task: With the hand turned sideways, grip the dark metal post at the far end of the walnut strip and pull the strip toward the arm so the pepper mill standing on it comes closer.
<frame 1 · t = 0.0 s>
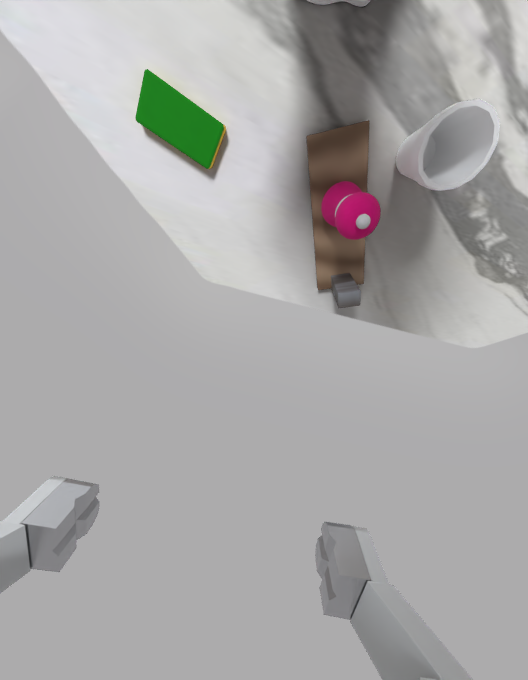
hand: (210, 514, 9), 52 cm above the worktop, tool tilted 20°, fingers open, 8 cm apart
pepper mill: (337, 201, 47), resting on strip
foam cup: (414, 154, 43), on the worktop
strip: (343, 223, 44), point 6 cm above the worktop, slide at -0.2 cm, touching pepper mill
dish sponge: (184, 125, 44), on the worktop
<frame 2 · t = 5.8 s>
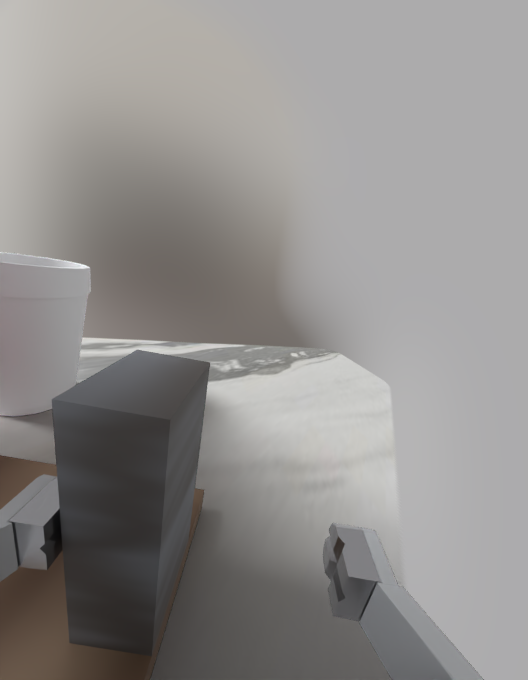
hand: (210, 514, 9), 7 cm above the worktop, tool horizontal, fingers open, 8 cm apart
foam cup: (33, 398, 24), on the worktop
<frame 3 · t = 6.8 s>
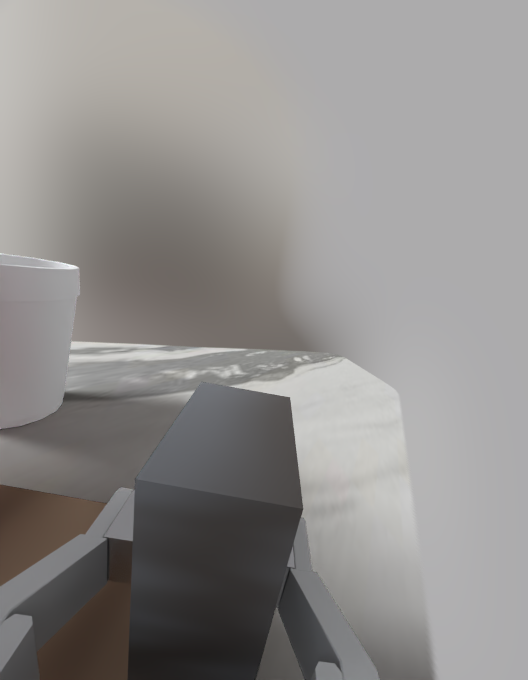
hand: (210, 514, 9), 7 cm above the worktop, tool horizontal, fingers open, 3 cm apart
foam cup: (17, 409, 22), on the worktop
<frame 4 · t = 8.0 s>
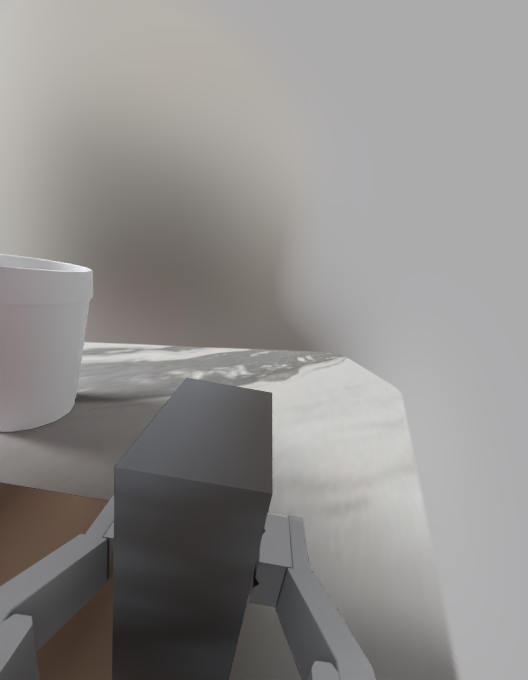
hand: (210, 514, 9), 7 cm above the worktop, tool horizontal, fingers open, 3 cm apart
foam cup: (30, 411, 22), on the worktop
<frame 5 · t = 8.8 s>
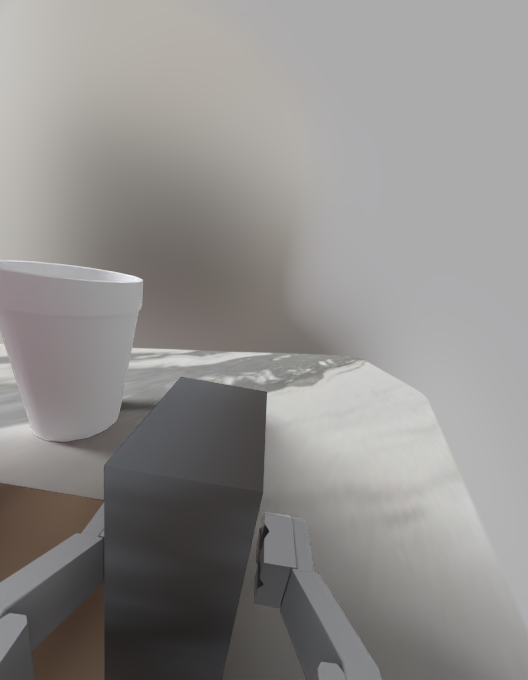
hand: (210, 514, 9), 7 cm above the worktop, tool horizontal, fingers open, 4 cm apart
foam cup: (79, 419, 22), on the worktop
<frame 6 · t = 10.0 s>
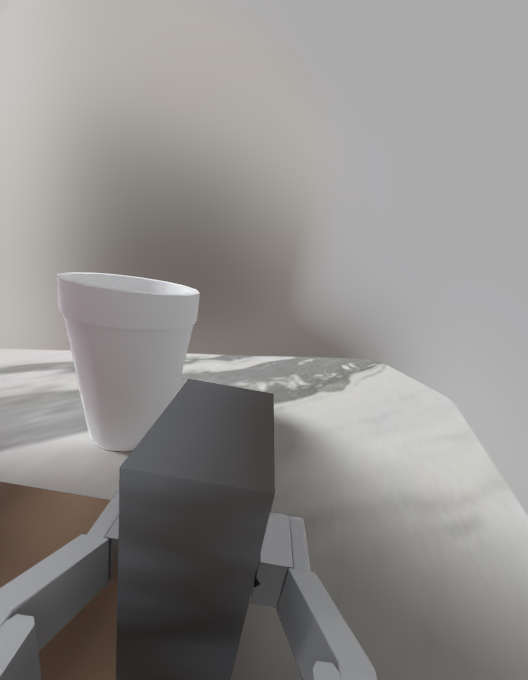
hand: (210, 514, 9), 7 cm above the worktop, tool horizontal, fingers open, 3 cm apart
foam cup: (131, 428, 22), on the worktop
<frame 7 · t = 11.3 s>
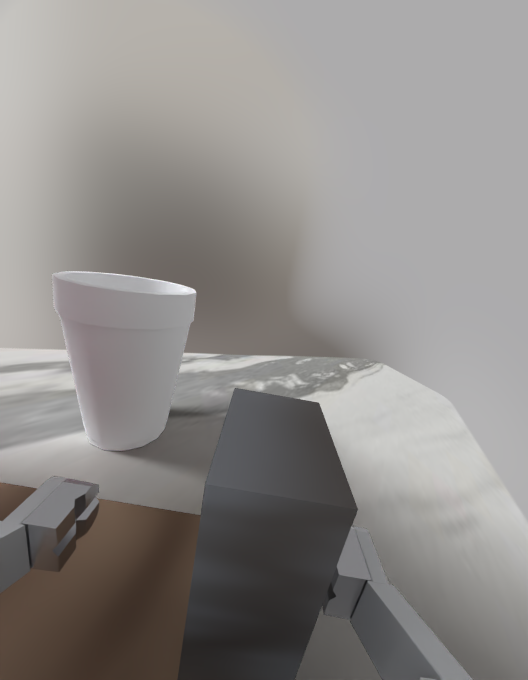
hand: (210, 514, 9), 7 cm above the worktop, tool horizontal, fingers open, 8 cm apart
foam cup: (128, 427, 22), on the worktop
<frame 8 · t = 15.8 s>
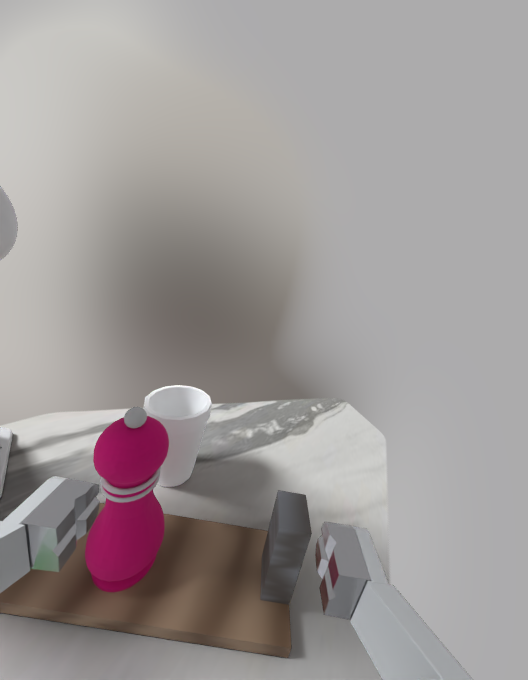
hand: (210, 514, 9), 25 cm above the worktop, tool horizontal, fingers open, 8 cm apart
pepper mill: (125, 564, 27), resting on strip
foam cup: (172, 471, 40), on the worktop
strip: (164, 531, 26), point 6 cm above the worktop, slide at 3.6 cm, touching pepper mill
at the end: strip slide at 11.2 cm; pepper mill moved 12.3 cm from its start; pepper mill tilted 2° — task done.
